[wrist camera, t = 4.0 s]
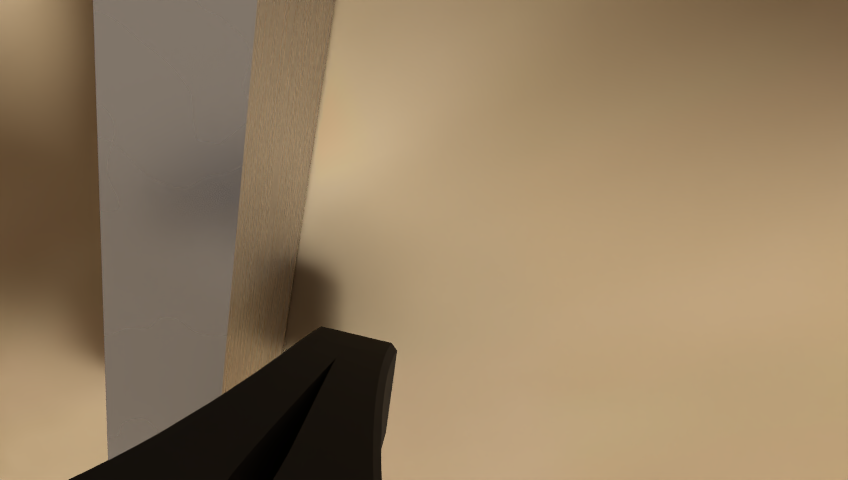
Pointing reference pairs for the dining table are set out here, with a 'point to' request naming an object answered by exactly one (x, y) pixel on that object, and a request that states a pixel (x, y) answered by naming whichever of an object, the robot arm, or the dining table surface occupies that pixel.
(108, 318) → the tong arm
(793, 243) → the dining table surface
